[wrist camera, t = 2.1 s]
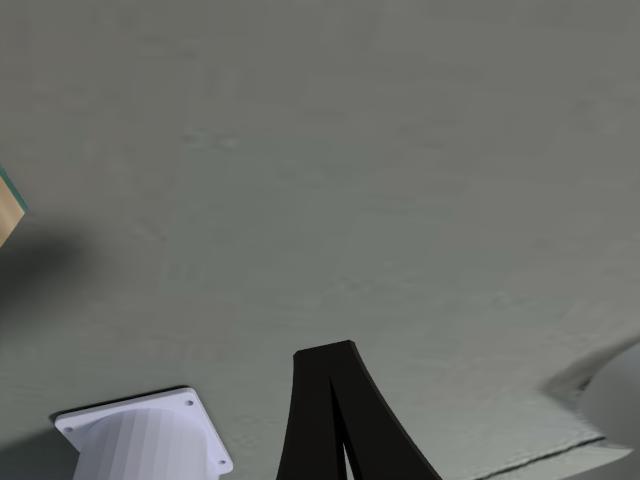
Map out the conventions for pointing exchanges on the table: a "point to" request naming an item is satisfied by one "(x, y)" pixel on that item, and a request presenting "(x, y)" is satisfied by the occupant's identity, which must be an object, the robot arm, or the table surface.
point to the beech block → (9, 206)
